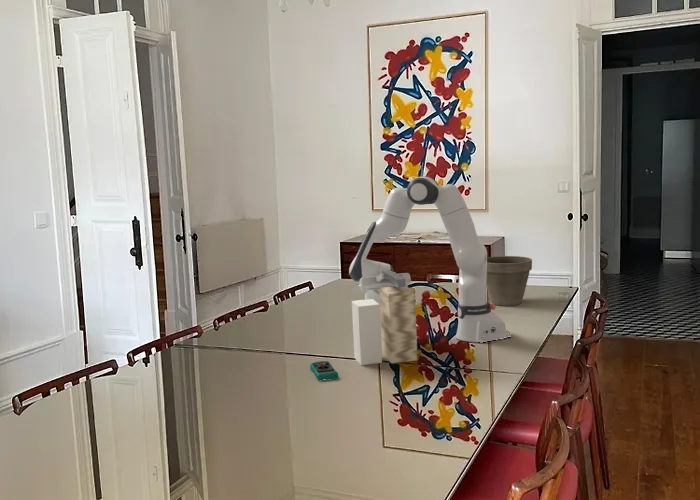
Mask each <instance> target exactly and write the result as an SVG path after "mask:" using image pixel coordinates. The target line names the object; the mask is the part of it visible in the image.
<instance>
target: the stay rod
mask: <svg viewBox="0 0 700 500" xmlns="http://www.w3.org/2000/svg"><path fill="white" fill-rule="evenodd" d="M394 272H395V271H394ZM394 272H392V271H390V270H384V271H382V274H383V273H385V276H386V277H385V279H384V280H386V281H388V282H389V283H391V284H393V285H394V286H396V287H398V288H400V287H406V282H405V278H403V277H401V276H399V275H398V274H399V273H397V272H396V273H394Z"/></svg>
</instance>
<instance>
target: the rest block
mask: <svg viewBox="0 0 700 500" xmlns="http://www.w3.org/2000/svg"><path fill="white" fill-rule="evenodd" d="M351 315H352V316H351V317H352V335H353V336H352V337H353V354H354V356H353V357H354V359H355V360H356V361H357V362H358V363H359V365H360V366H366V365H367V366H368V365H376V364H382V363H383V355H382V336H381V312H380V304H378V303H377V302H376V301H374V300H373V299H366V300H365V299H359V300H357V299H356V300H351Z"/></svg>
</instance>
